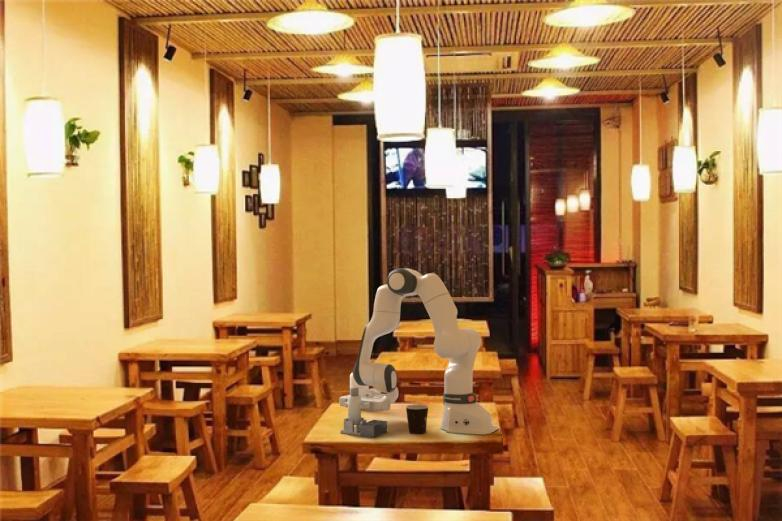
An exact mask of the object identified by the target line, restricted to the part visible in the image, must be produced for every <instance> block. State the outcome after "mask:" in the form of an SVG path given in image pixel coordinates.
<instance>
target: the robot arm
mask: <svg viewBox="0 0 782 521" xmlns="http://www.w3.org/2000/svg"><path fill="white" fill-rule="evenodd" d="M416 296H419V297H420V299H421V302H422V303H423V305H424V308H425V310H426V312H427V313H428V316H429V318H430V320H431V323H432V324H431V325H432V326H433V331H434V341H433V351H434V352H435V354H436V356H438V357H439V358H441V359H445V360H449V361H448V364H447V366H446V369H445V370H444V374H443V375H444V376H443V377H444V384H443V385H444V387H443V388H444V391H443V395H442V396H443V399H442V400H443V401H442V402H443V413H442V414H443V416H442V419H441V424H440V429H442V430H444V431H445V432H446V433H450V434H451V433H454V434H467V435H468V434H469V435H489V434H492V432H493V433H494V431H495V430H497V429H499V427H498V425H497V424H493V419H492V418H493V417H492V415H491V413H490V411H488V410H487V409H486V408H485V407H484V406H482V405H481V404H480V403H479V402H478V401H477V400H478V397H479V393H478V394H475V392H473V377H474V376H473V375H474V374H473V373H474V367H475V362H476V357H477V354H478V351H479V350H480V348H481V346H482V342H483V341H482V337H481V334H480V333H479V331H477V330H476V329H473V328H470V327H462V328H460V327H459V323H458V319H457V317H458V308H457V307H456V305H455V303H454V300H453V298H452V295H451V294H450V292H449V290H448V289H447V287H446V285H445V284H444V281H442V279H441V278H440V276H439V275H437V274H436V273H434V272H433V273H432V272H431V273H430V272H429V273H426V274H423V273H422V272H421V271H419V270H414V269H412V268H406V267H405V268H403V267H402V268H396V269H393V270H392V271H390V272H389V274H388V275H387V278H386V284H383V285H380V286H379V287H378V288H377V290H376V293H375V299H374V303H373V312H372V316H371V319H370V321H369V322H367V323H366V325H364V329H363V332H362V336H361V340H360V344H359V349H358V353H357V359H356V360H355V364H354V366H353V370H352V373H353V378H354V380H355V381H356V383H357V384H358V385H361V386H369V387H372V388H369V389H368V390H365V391H364V392H363V393H362V395H361V404H359V409H361V410H365V411H367V412H377V411H380V412H381V411H390V410H391V405H392V404H394V403H395V402H396V400H397V399H398V397H399V388H398V387H397V385H398V381H399V380H398V377H399V376H398V373H397V369H396V368H395V367H394V366H393V364H390V363H383V362H372V361H371V357H372V356H371V355H372V351H373V347H374V343H375V342H376V340H377V339H378V338H379V337H382V336H384V335H387V334H390V333H392V332H394V331H395V330H396V329H397V328H398V326H399V324H400V322H401V321H400V320H401V305H402V301H403V300H404V299H409V298H412V297H416ZM348 395H349V394H347V395H343V396H340V397H339V400H338V401H339V402H338V403H339V406H340V407H345V408H348ZM497 431H498V430H497ZM495 432H496V431H495Z"/></svg>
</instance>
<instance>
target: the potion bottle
mask: <svg viewBox="0 0 782 521" xmlns="http://www.w3.org/2000/svg"><path fill="white" fill-rule="evenodd" d="M351 387H358V388H359V395H362V393H363V392H364V391H365V390H368V389H370V386H361V385H358V384H357V383H356V381H355V380H354V378H353V372H351V373H350V375H349V389H350V388H351Z"/></svg>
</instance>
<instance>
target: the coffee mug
mask: <svg viewBox="0 0 782 521" xmlns="http://www.w3.org/2000/svg"><path fill="white" fill-rule="evenodd" d="M405 408H406V410H405V411H406V417H407V418H406V419H407V425H408V433H409V434H410V435H425V434H426V433H427V425H428V412H429V406H428V405H425V404H410V405H406V406H405Z"/></svg>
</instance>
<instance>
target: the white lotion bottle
mask: <svg viewBox="0 0 782 521" xmlns="http://www.w3.org/2000/svg"><path fill="white" fill-rule="evenodd" d="M347 395H348V407H347V418H348V421H354V426H356V425H360V421H361V417H362V409H359V404H361V395H359V388H358V387H351V388H350V387H349V394H347Z"/></svg>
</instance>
